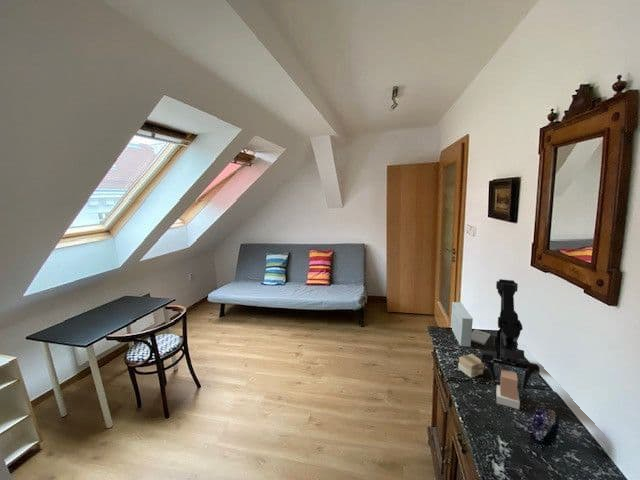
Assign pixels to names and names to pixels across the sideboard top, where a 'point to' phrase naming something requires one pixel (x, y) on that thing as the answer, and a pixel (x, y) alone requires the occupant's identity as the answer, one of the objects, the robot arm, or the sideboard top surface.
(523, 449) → the sideboard top surface
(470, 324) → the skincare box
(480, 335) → the external hard drive
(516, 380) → the terracotta block
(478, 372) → the tower base
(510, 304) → the robot arm
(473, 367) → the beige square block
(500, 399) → the block
